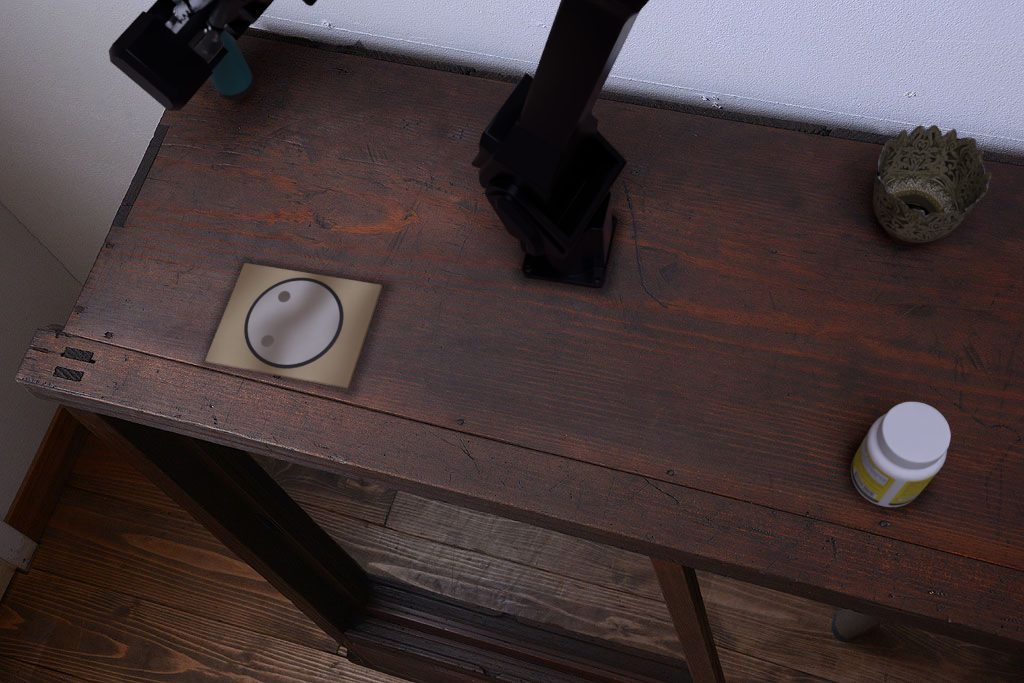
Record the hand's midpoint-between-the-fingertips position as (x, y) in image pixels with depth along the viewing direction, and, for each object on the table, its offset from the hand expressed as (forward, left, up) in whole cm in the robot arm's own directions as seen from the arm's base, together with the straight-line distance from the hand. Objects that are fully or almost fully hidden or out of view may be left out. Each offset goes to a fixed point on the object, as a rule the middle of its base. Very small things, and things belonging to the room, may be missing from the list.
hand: (194, 26), depth 80 cm
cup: (-58, +4, -9) cm, 59 cm away
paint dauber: (-1, 0, -7) cm, 7 cm away
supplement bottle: (-58, +24, -9) cm, 64 cm away
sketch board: (-13, +21, -9) cm, 26 cm away
